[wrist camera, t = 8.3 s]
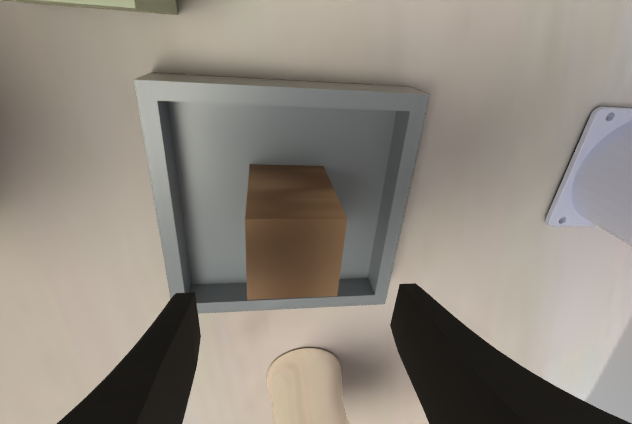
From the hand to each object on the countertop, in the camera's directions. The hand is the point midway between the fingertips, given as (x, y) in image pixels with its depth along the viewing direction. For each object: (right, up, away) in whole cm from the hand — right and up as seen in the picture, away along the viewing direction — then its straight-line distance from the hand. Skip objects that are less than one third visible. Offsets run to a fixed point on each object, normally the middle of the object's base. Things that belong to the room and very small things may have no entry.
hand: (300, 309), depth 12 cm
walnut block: (-1, +4, +7) cm, 9 cm away
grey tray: (-1, +4, +8) cm, 9 cm away
